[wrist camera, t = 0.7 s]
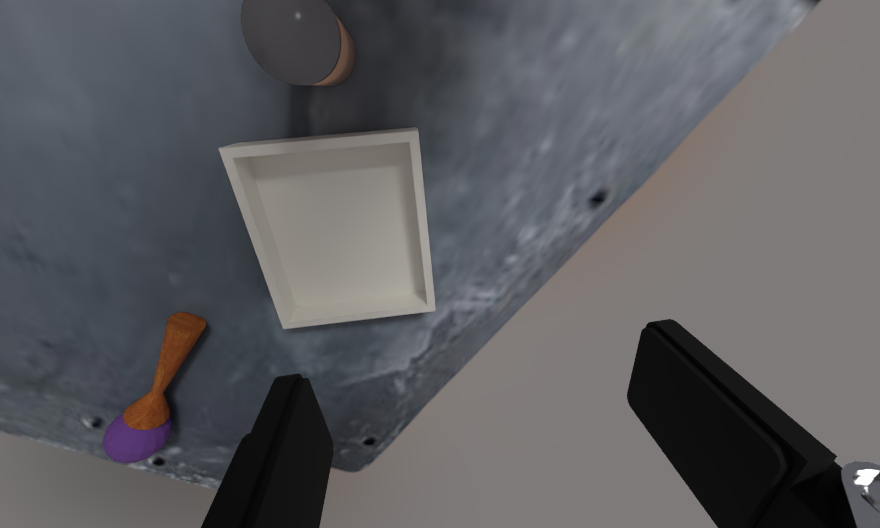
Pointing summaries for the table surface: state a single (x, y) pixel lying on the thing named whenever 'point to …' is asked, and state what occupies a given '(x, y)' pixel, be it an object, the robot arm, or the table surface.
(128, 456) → the brown purple handled piece
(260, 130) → the table surface
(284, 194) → the tray
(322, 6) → the cylinder
